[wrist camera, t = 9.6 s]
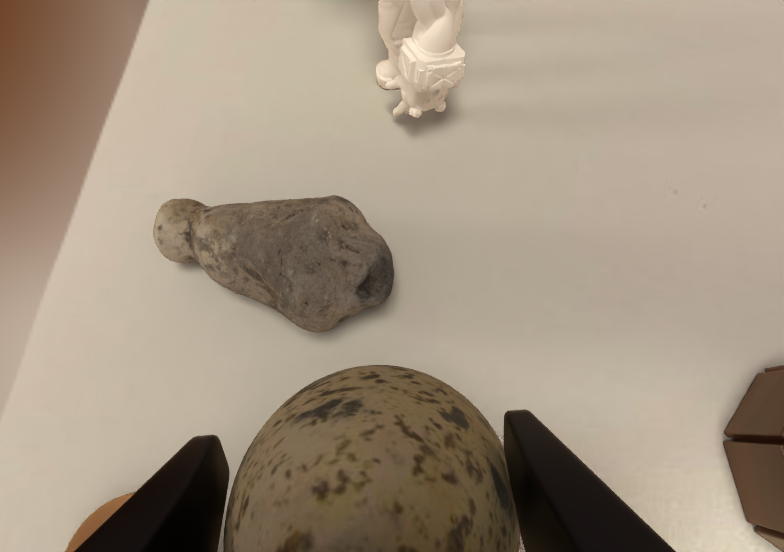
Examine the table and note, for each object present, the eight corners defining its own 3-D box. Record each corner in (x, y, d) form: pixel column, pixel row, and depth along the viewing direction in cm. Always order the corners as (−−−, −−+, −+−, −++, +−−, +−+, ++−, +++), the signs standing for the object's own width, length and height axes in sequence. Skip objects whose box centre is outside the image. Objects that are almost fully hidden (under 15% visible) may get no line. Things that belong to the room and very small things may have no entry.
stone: (167, 263, 26) (137, 368, 19) (152, 156, 23) (111, 234, 16) (363, 258, 28) (397, 349, 21) (370, 161, 25) (412, 231, 19)
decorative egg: (434, 641, 14) (469, 1093, 4) (252, 527, 15) (-33, 695, 6) (523, 440, 15) (696, 459, 6) (352, 348, 16) (260, 235, 7)
